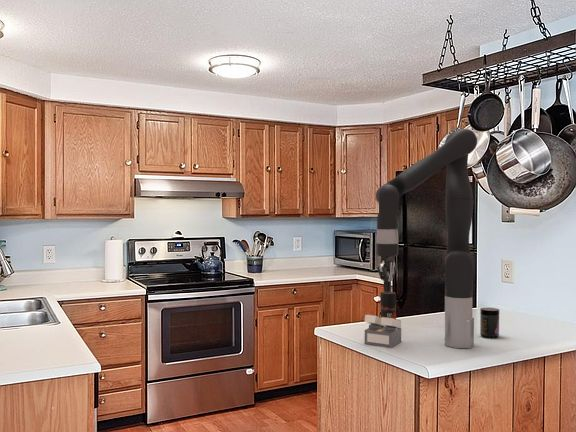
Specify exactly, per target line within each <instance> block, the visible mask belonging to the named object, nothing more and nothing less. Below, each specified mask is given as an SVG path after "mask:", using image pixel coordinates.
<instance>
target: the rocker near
mask: <svg viewBox="0 0 576 432" xmlns="http://www.w3.org/2000/svg"><path fill="white" fill-rule="evenodd" d="M380 318H381V317H380ZM381 325H386V326H393V327H399V328H402V320H401V319H397V318H396V319H394V318H387V317H382V318H381Z"/></svg>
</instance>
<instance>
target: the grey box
mask: <svg viewBox="0 0 576 432" xmlns="http://www.w3.org/2000/svg"><path fill="white" fill-rule="evenodd" d="M401 342H402V327H392V326H381V325H375V324H370V323H369V324H368V328H366V329H364V345H369V346H375V347H376V346H377V347H382V348H383V347H384V348H390V349H392V348H393V347H395V346H397V345H399V344H400V343H401Z"/></svg>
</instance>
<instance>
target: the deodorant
mask: <svg viewBox="0 0 576 432" xmlns="http://www.w3.org/2000/svg"><path fill="white" fill-rule="evenodd" d="M382 317H387V318H394V319H397V292H395V291H391V292H384V291H380V318H382ZM385 326H386V325H385ZM392 327H393V326H392Z"/></svg>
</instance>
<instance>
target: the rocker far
mask: <svg viewBox="0 0 576 432" xmlns="http://www.w3.org/2000/svg"><path fill="white" fill-rule="evenodd" d="M364 322H365V323H367V324H369V325H370V324H375V325H381V316H380V317H379V316H377V315H374V314H365V315H364ZM381 326H385V325H381Z"/></svg>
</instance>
